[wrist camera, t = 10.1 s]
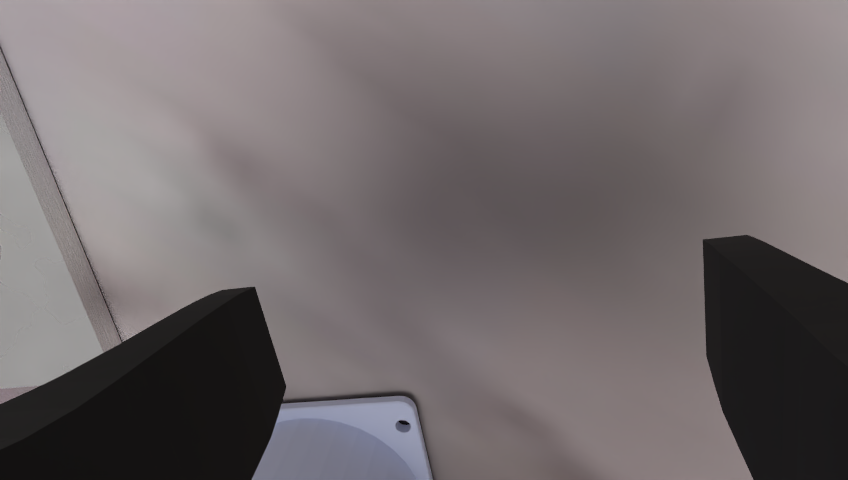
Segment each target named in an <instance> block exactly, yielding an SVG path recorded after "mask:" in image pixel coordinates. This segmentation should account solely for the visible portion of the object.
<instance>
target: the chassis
mask: <svg viewBox="0 0 848 480" xmlns="http://www.w3.org/2000/svg"><path fill="white" fill-rule="evenodd" d="M121 343H122V342H121V340H120V337H119V335H118V332H117V330H116V327H115V325H114V323H113V320H112V318H111V315H110V313H109V311H108V308H107V306H106V303H105V301H104V298H103V296H102V294H101V291H100V289H99V286H98V284H97V281H96V279H95V277H94V274H93V272H92V269H91V267H90V265H89V262H88V260H87V257H86V255H85V252H84V250H83V248H82V245H81V243H80V240H79V238H78V235H77V233H76V231H75V228H74V226H73V223H72V221H71V219H70V216H69V214H68V211H67V209H66V206H65V204H64V202H63V199H62V197H61V194H60V192H59V189H58V187H57V185H56V182H55V180H54V177H53V175H52V173H51V170H50V168H49V165H48V163H47V160H46V158H45V156H44V153H43V151H42V148H41V146H40V143H39V141H38V139H37V136H36V134H35V131H34V129H33V127H32V124H31V122H30V119H29V117H28V114H27V112H26V110H25V107H24V105H23V102H22V100H21V97H20V95H19V93H18V90H17V88H16V85H15V83H14V81H13V78H12V76H11V73H10V71H9V68H8V66H7V64H6V61H5V59H4V56H3V54H2V51H1V49H0V389H4V388H17V387H29V386H41V385H43V384H45V383H47V382H49V381H51V380H53V379H55V378H57V377H59V376H61V375H63V374H65V373H67V372H69V371H71V370H73V369H74V368H76V367H78V366H80V365H82V364H84V363H86V362H87V361H89V360H91V359H93V358H95V357H97V356H99V355H100V354H102V353H104V352H106V351H108V350H110V349H112V348H113V347H115V346H117V345H119V344H121Z"/></svg>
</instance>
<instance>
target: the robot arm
mask: <svg viewBox="0 0 848 480" xmlns="http://www.w3.org/2000/svg"><path fill="white" fill-rule="evenodd" d="M703 259H704V291H705V323H706V355H707V359H708V363H709V366H710V370H711V373H712V377H713V381H714V384H715V387H716V391H717V394H718V397H719V401H720V404H721V407H722V410H723V413H724V415H725V417H726V420H727V422H728V424H729V427H730V429H731V431H732V433H733V435H734V438H735V440H736V442H737V444H738V447H739V449H740V451H741V453H742V455H743V458H744V460H745V462H746V464H747V466H748V468H749V471H750V473H751V475H752V477H753V479H754V480H848V283H846V282H844V281H842V280H840V279H838V278H836V277H834V276H832V275H830V274H828V273H825V272H823V271H821V270H819V269H817V268H815V267H813V266H811V265H809V264H807V263H805V262H803V261H801V260H799V259H797V258H795V257H793V256H791V255H789V254H787V253H785V252H783V251H781V250H779V249H777V248H775V247H773V246H771V245H769V244H767V243H765V242H763V241H761V240H758V239H756V238H754V237H751V236H748V235H743V236H733V237H724V238H714V239H705V240H703ZM285 389H286V384H285V381H284V378H283V375H282V372H281V369H280V365H279V362H278V359H277V356H276V353H275V349H274V346H273V343H272V340H271V337H270V334H269V330H268V327H267V324H266V321H265V318H264V314H263V311H262V308H261V305H260V302H259V299H258V295H257V292H256V289H255V287H247V288H238V289H228V290H221V291H218V292H216V293H213V294H211V295H208V296H206V297H204V298H202V299H200V300H198V301H196V302H194V303H192V304H190V305H188V306H186V307H184V308H182V309H181V310H179V311H177V312H175V313H173V314H172V315H170V316H168V317H166V318H164V319H163V320H161V321H159V322H157V323H156V324H154V325H152V326H150V327H149V328H147V329H145V330H143V331H142V332H140V333H138V334H136V335H135V336H133V337H131V338H129V339H128V340H126V341H124V342H122V343H121V344H119V345H117V346H115V347H113V348H112V349H110V350H108V351H106V352H104V353H102V354H100V355H99V356H97V357H95V358H93V359H91V360H89V361H87V362H86V363H84V364H82V365H80V366H78V367H76V368H74V369H73V370H71V371H69V372H67V373H65V374H63V375H61V376H59V377H57V378H55V379H53V380H51V381H49V382H47V383H45V384H43V385H41V386H39V387H37V388H35V389H33V390H31V391H29V392H27V393H24V394H22V395H20V396H18V397H16V398H13V399H11V400H9V401H7V402H4V403H2V404H0V480H433V477H432V473H431V469H430V464H429V460H428V456H427V451H426V447H425V443H424V438H423V434H422V430H421V425H420V421H419V417H418V412H417V408H416V405H415V403H414V402H413V401H412V400H411V399H410V398H407V397H405V396H388V397H373V398H359V399H344V400H329V401H315V402H300V403H285V404H282V400H283V397H284V393H285ZM400 420H405V421H407V422H408V423H409V425H402V424H401V423H399V421H400Z"/></svg>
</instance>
